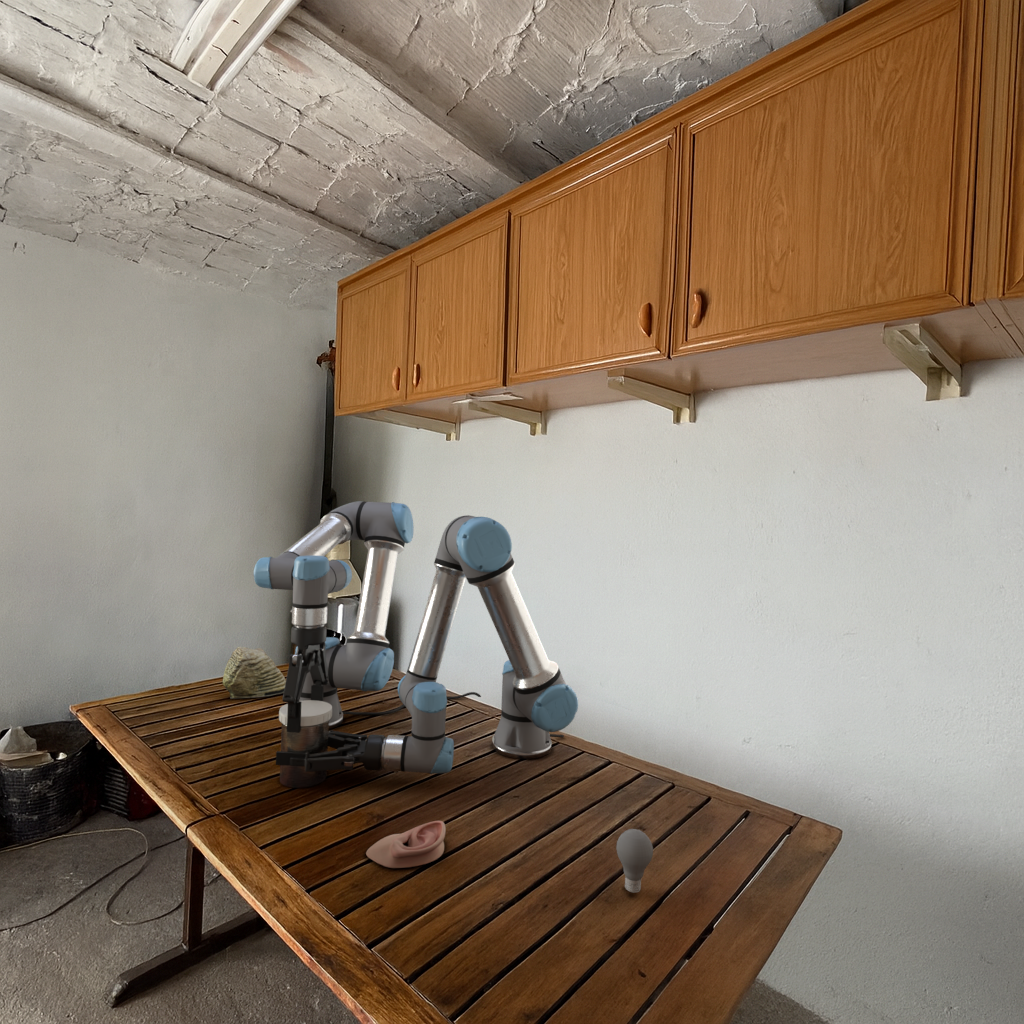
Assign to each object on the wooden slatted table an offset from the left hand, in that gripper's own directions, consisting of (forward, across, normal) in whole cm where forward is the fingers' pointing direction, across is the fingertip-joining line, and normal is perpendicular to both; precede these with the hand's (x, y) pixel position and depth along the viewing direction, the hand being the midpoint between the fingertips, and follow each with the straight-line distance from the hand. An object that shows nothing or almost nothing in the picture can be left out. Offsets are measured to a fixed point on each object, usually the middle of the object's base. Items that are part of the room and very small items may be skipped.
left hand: (305, 722), depth 142 cm
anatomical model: (+13, +25, +31) cm, 41 cm away
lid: (-3, 0, 0) cm, 3 cm away
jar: (+13, 0, 0) cm, 13 cm away
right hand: (+6, 0, -4) cm, 7 cm away
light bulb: (+13, +29, +71) cm, 78 cm away
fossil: (+13, -52, -40) cm, 66 cm away
